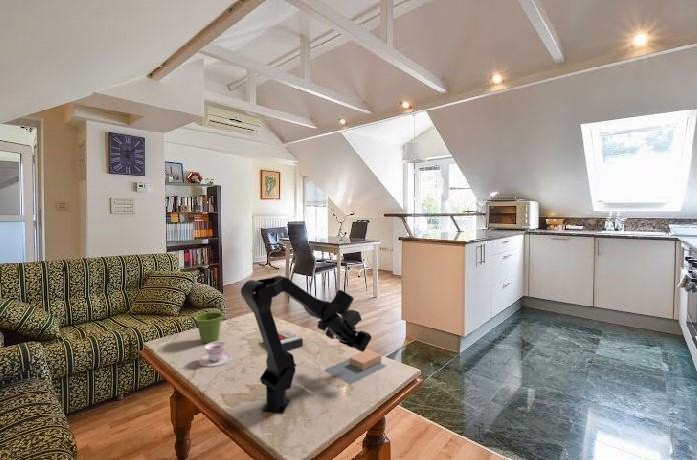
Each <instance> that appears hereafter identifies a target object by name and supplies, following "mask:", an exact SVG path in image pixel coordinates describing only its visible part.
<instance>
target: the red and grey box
mask: <svg viewBox="0 0 697 460" xmlns="http://www.w3.org/2000/svg"><path fill="white" fill-rule="evenodd" d="M278 334H279V338H280V341H281V344H282V347H283V350H285V351H287V352H289V351H292V350H296V349H299V348H303V346H304V339H303V338H302V337H300V336H298V335H296V333H293V332H291V331H288V330H287V329H284V330H280V331H278Z"/></svg>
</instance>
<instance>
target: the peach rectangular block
mask: <svg viewBox="0 0 697 460" xmlns="http://www.w3.org/2000/svg"><path fill="white" fill-rule="evenodd" d="M348 359H349V364H350V365H352V366H354V367H356V368H358V369H361V370H365V369H367V368H369V367H371V366H374V365H376V364H378V363H381V362H382V354H380V353H377V352H375V351H373V350H371V349H365V351H363V352H361V351H360V352H359V353H356V354H354V355H351V356H349V358H348Z"/></svg>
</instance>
